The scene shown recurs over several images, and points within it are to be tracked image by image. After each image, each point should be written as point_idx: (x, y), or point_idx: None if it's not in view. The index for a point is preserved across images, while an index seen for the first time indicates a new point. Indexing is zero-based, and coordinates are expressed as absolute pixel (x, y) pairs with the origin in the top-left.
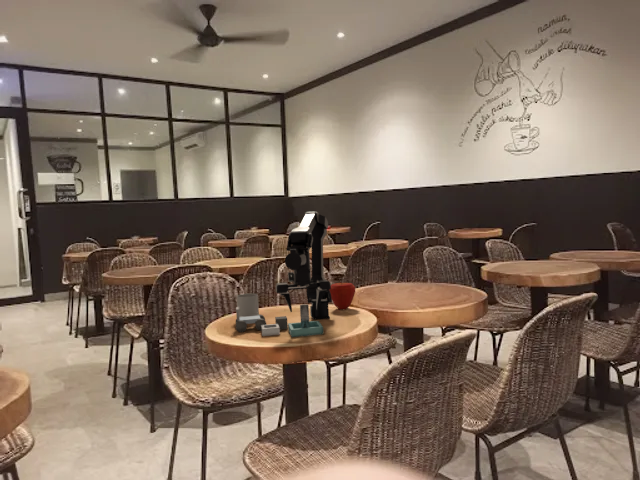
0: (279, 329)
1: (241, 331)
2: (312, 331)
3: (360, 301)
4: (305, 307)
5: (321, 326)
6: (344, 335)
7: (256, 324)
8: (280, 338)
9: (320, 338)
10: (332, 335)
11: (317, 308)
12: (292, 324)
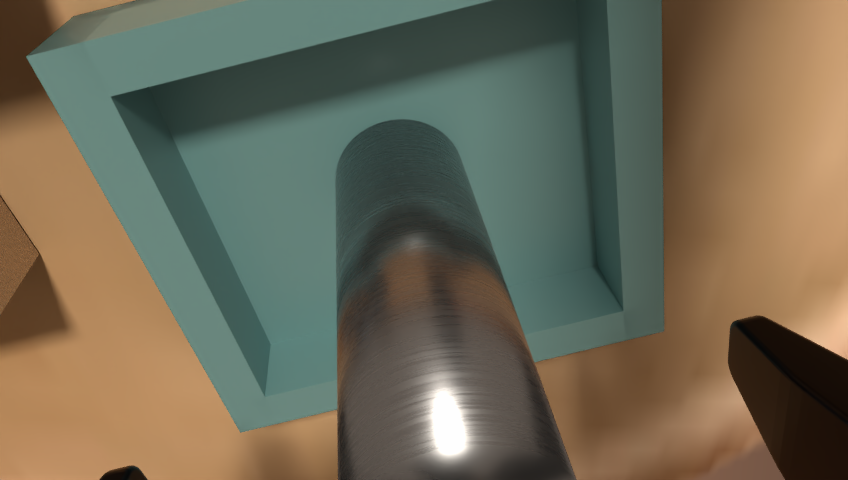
0: (7, 298)
1: None
2: None
3: None
4: None
5: (646, 310)
6: (830, 324)
7: None
8: (126, 396)
9: (574, 404)
10: (713, 318)
11: (757, 400)
12: (140, 84)
